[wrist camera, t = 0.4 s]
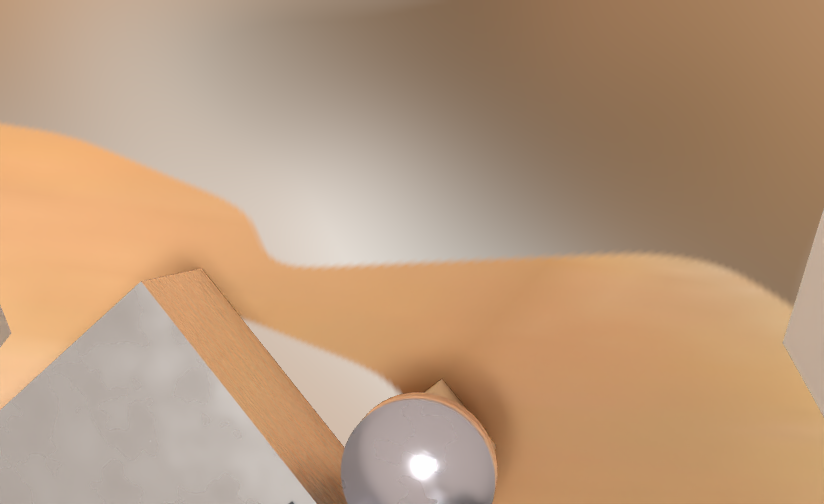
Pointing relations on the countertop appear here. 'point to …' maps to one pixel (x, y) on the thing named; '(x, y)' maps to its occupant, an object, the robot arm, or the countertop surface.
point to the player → (167, 413)
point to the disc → (419, 454)
